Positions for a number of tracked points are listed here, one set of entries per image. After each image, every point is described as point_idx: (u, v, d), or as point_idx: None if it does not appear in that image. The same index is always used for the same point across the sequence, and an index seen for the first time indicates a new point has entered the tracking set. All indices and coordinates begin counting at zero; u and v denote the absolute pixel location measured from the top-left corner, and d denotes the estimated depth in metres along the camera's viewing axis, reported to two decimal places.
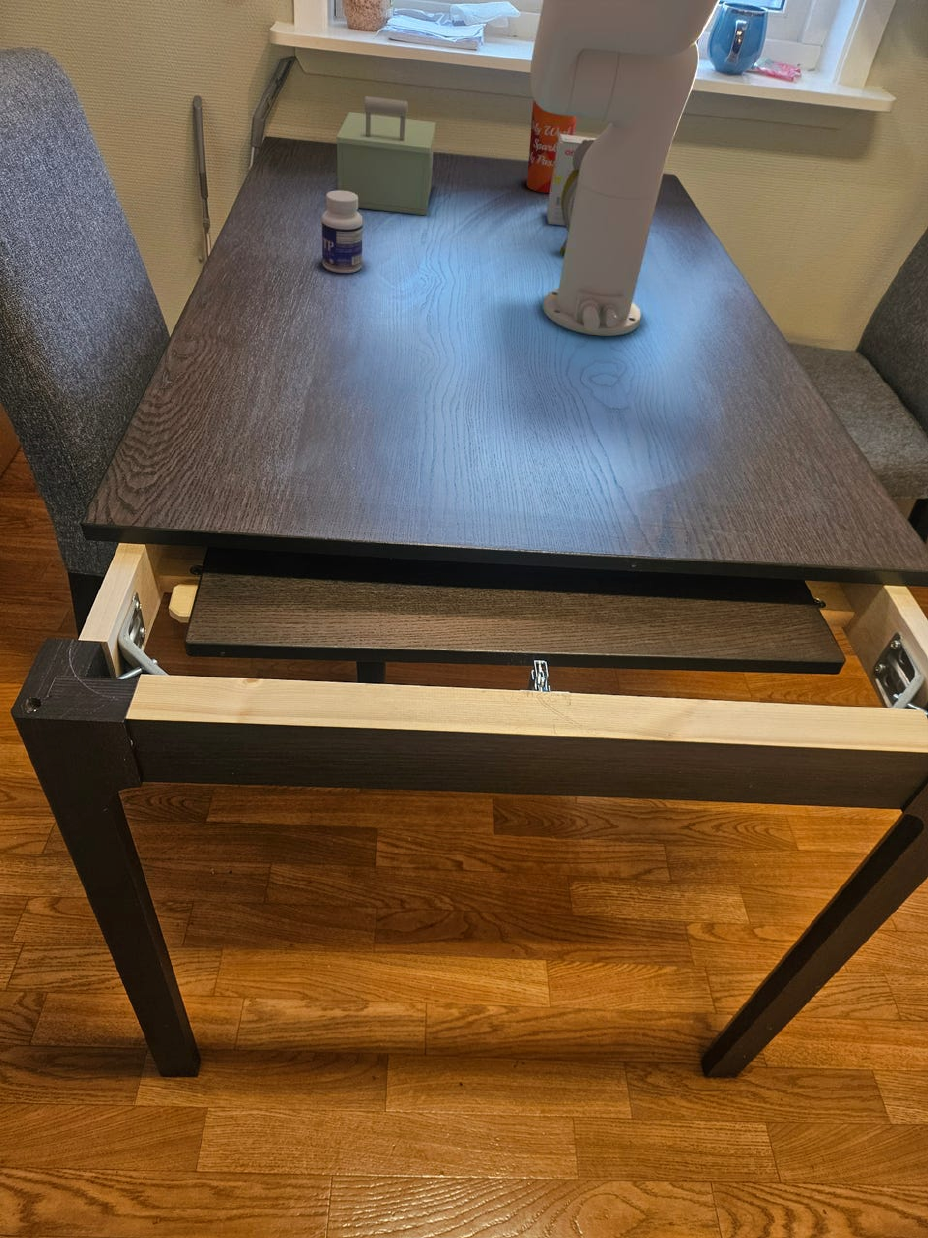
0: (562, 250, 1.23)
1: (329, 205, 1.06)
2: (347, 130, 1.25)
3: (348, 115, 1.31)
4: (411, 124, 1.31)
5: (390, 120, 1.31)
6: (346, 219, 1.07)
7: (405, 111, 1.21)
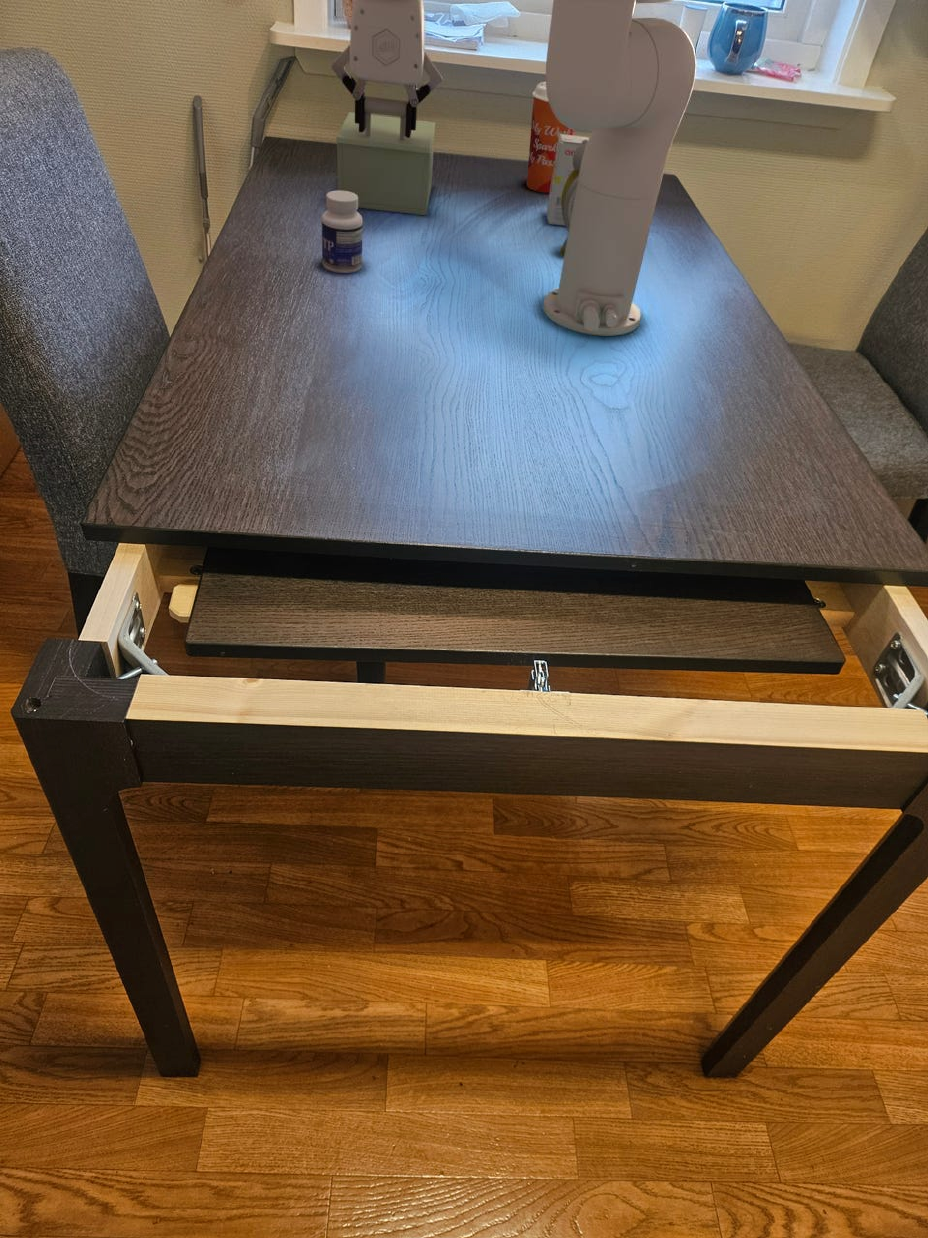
0: (562, 250, 1.23)
1: (329, 205, 1.06)
2: (347, 130, 1.25)
3: (348, 115, 1.31)
4: None
5: (390, 120, 1.31)
6: (346, 219, 1.07)
7: (405, 111, 1.21)
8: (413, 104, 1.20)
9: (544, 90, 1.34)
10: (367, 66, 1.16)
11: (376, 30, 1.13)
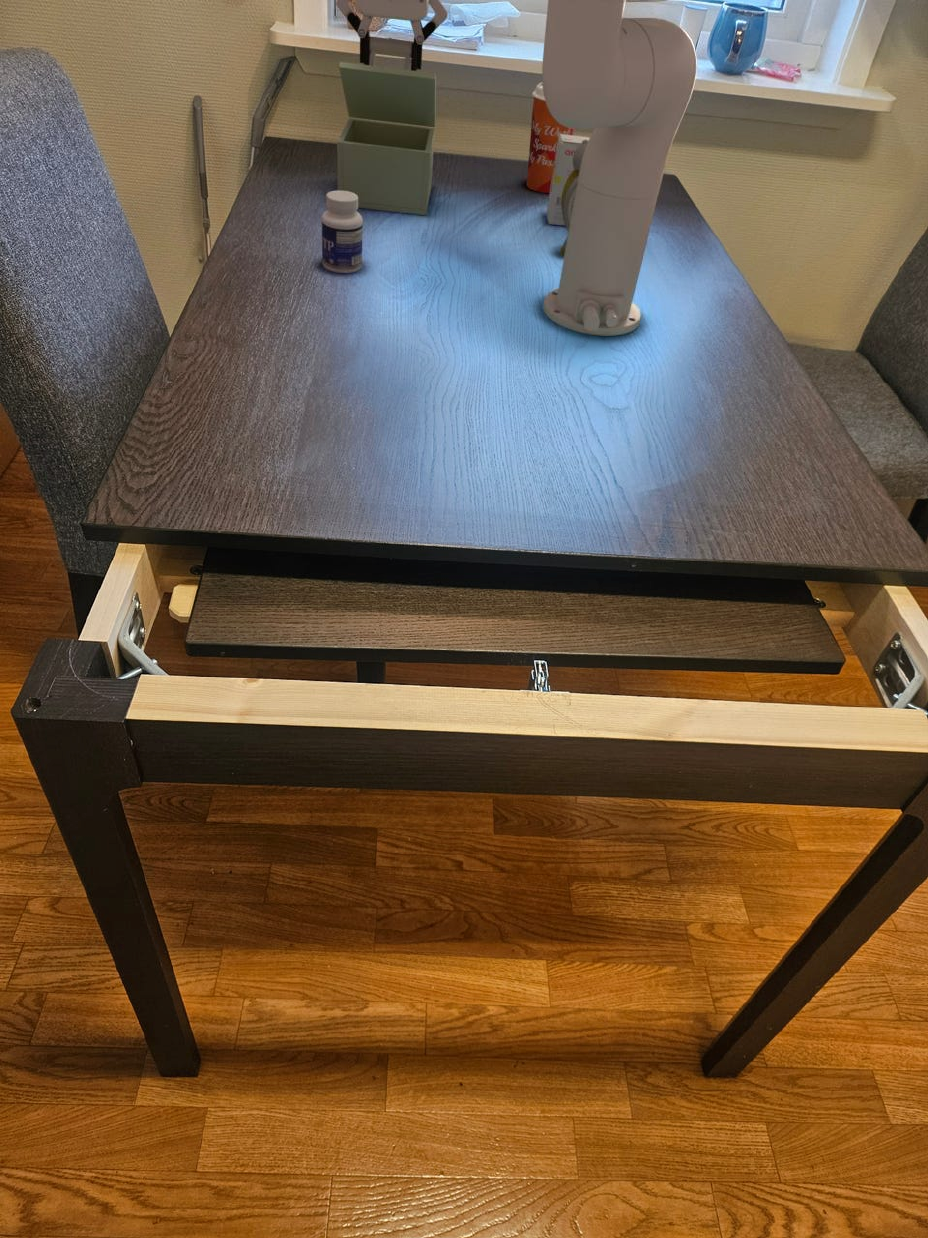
0: (562, 250, 1.23)
1: (329, 205, 1.06)
2: None
3: None
4: None
5: None
6: (346, 219, 1.07)
7: (410, 46, 1.20)
8: (419, 41, 1.20)
9: None
10: (372, 1, 1.15)
11: None
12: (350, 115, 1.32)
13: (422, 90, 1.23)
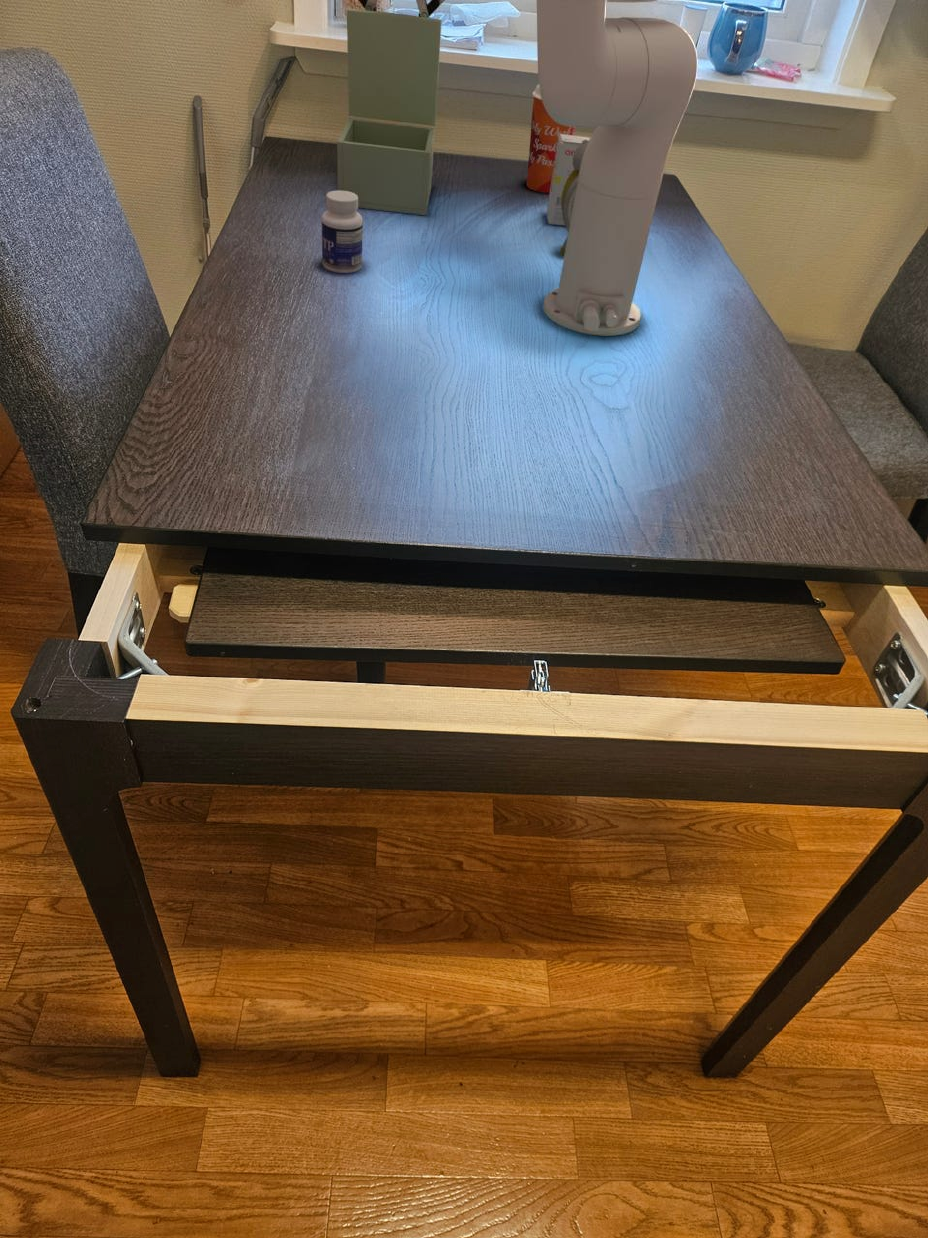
0: (562, 250, 1.23)
1: (329, 205, 1.06)
2: None
3: None
4: None
5: None
6: (346, 218, 1.07)
7: (416, 16, 1.25)
8: None
9: None
10: None
11: None
12: (350, 111, 1.32)
13: (427, 46, 1.24)
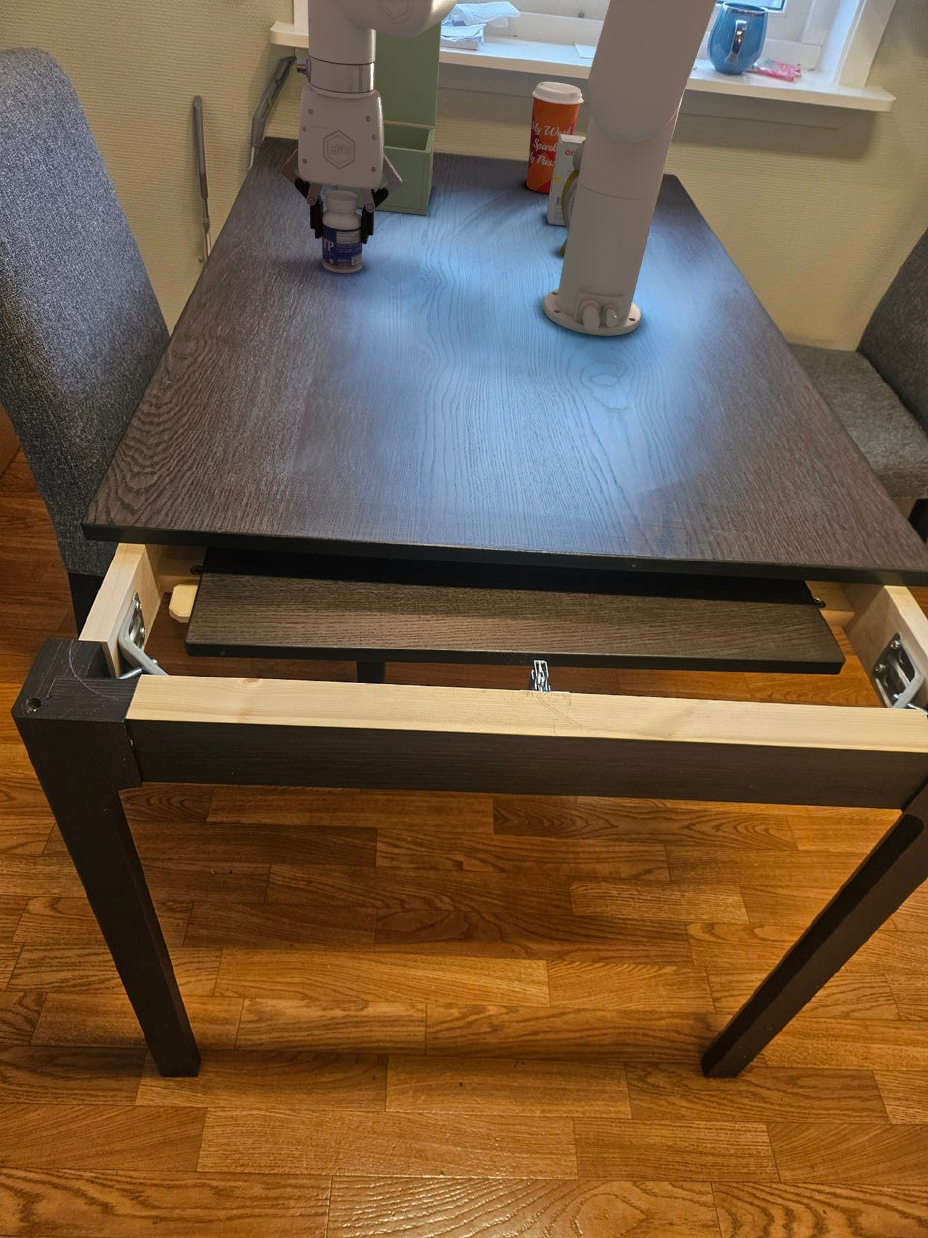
0: (562, 250, 1.23)
1: (329, 205, 1.06)
2: None
3: None
4: None
5: None
6: (346, 218, 1.07)
7: None
8: (369, 209, 1.06)
9: (544, 90, 1.34)
10: (318, 170, 1.02)
11: (327, 131, 0.99)
12: None
13: (427, 46, 1.24)
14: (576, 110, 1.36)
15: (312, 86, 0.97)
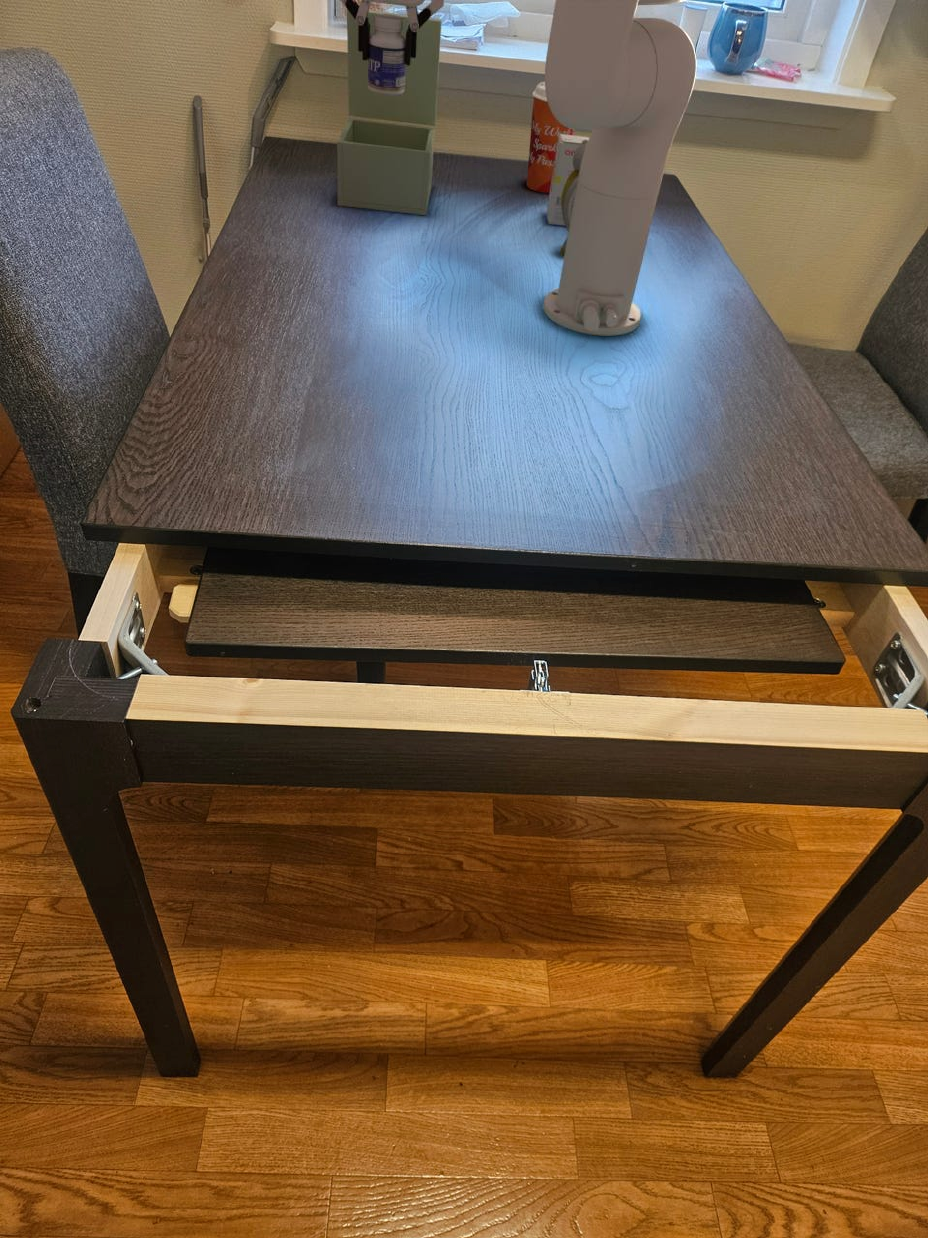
0: (562, 250, 1.23)
1: (376, 24, 1.15)
2: None
3: None
4: None
5: None
6: (392, 38, 1.16)
7: None
8: (413, 29, 1.15)
9: (544, 90, 1.34)
10: None
11: None
12: (350, 111, 1.32)
13: (427, 46, 1.24)
14: None
15: None
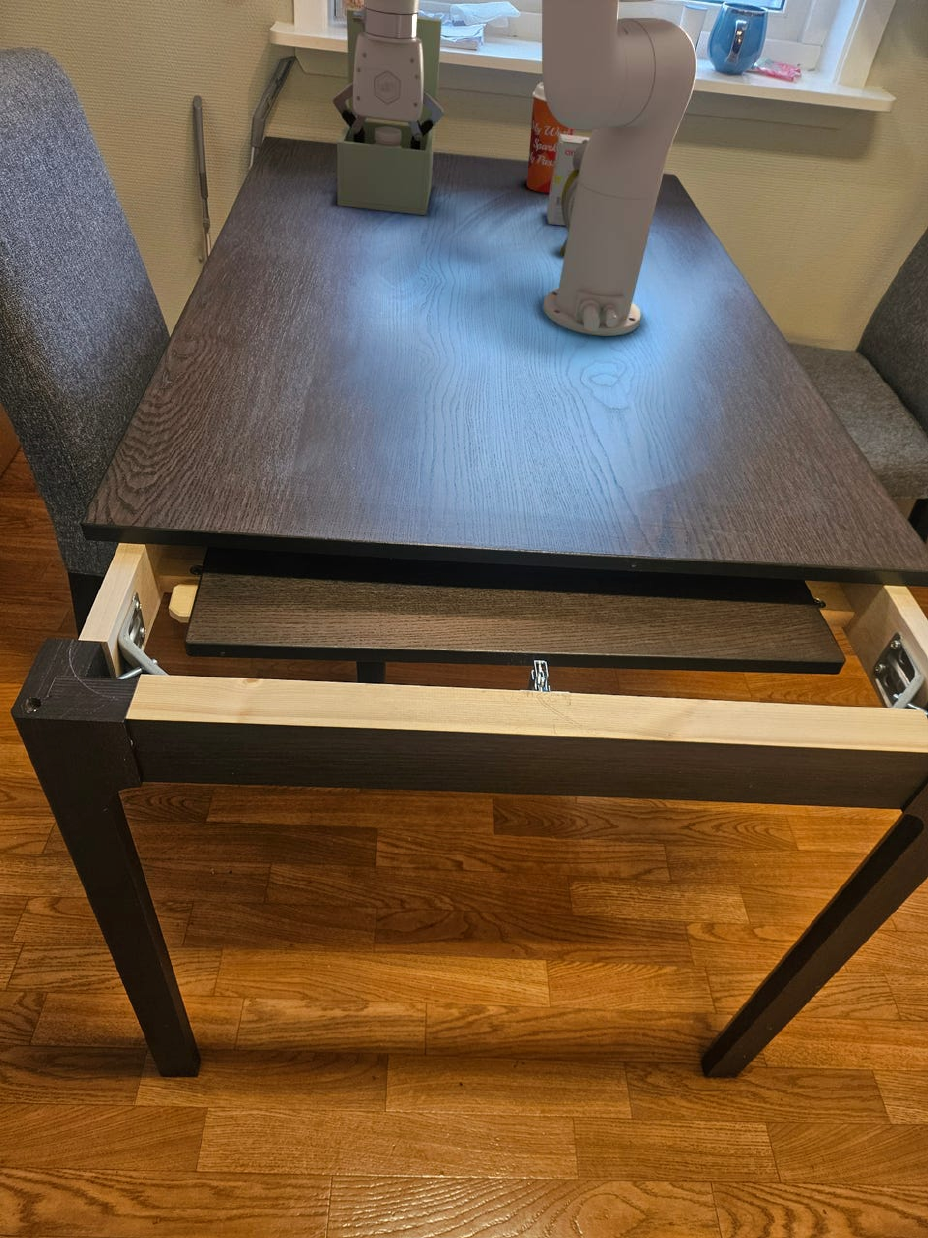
0: (562, 250, 1.23)
1: (377, 138, 1.27)
2: None
3: (350, 98, 1.31)
4: None
5: None
6: None
7: None
8: (417, 138, 1.27)
9: None
10: (369, 105, 1.22)
11: (378, 72, 1.20)
12: None
13: (427, 46, 1.24)
14: None
15: (366, 33, 1.17)
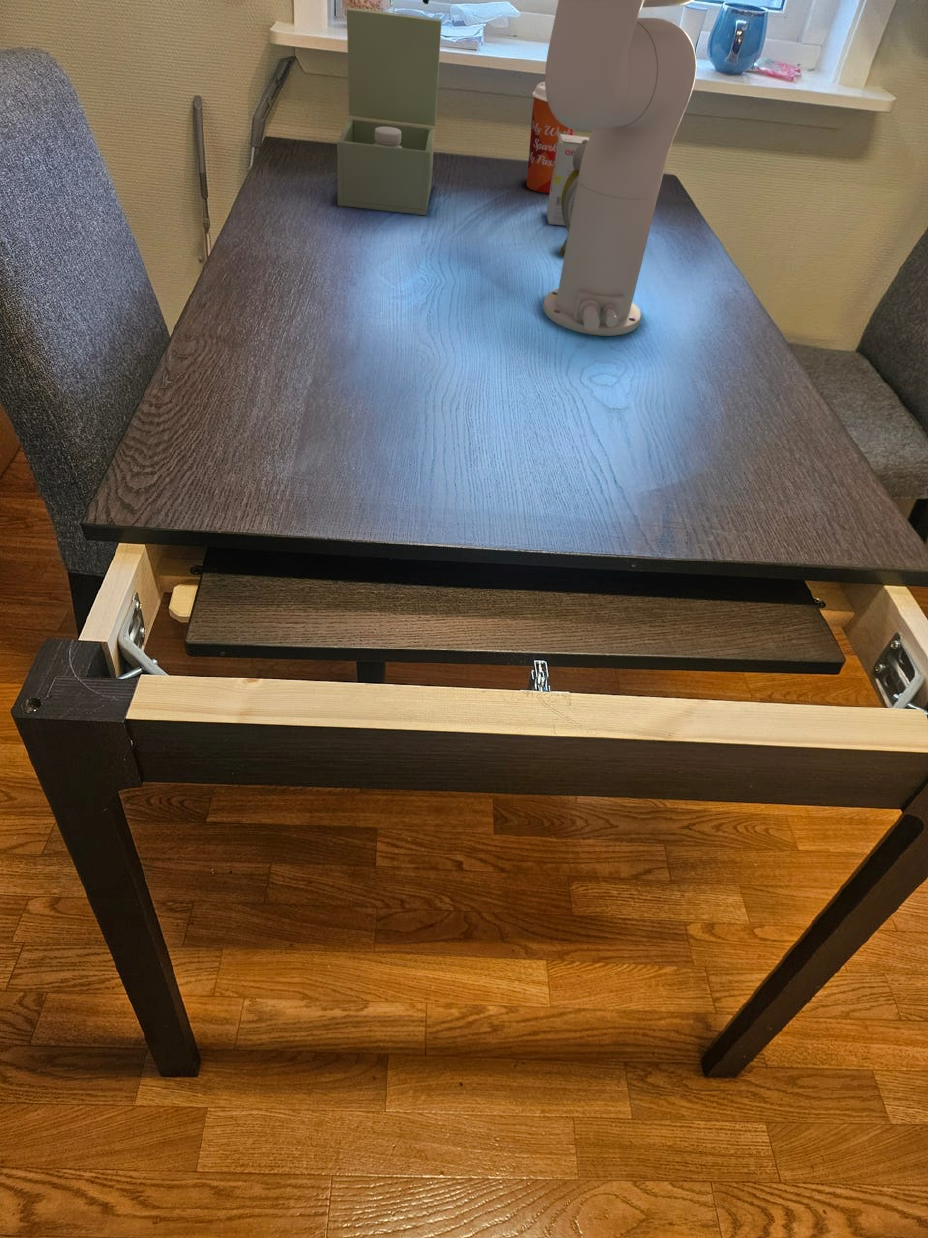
0: (562, 250, 1.23)
1: (377, 138, 1.27)
2: None
3: None
4: None
5: None
6: None
7: None
8: None
9: (544, 90, 1.34)
10: None
11: None
12: (350, 111, 1.32)
13: (427, 46, 1.24)
14: None
15: None
